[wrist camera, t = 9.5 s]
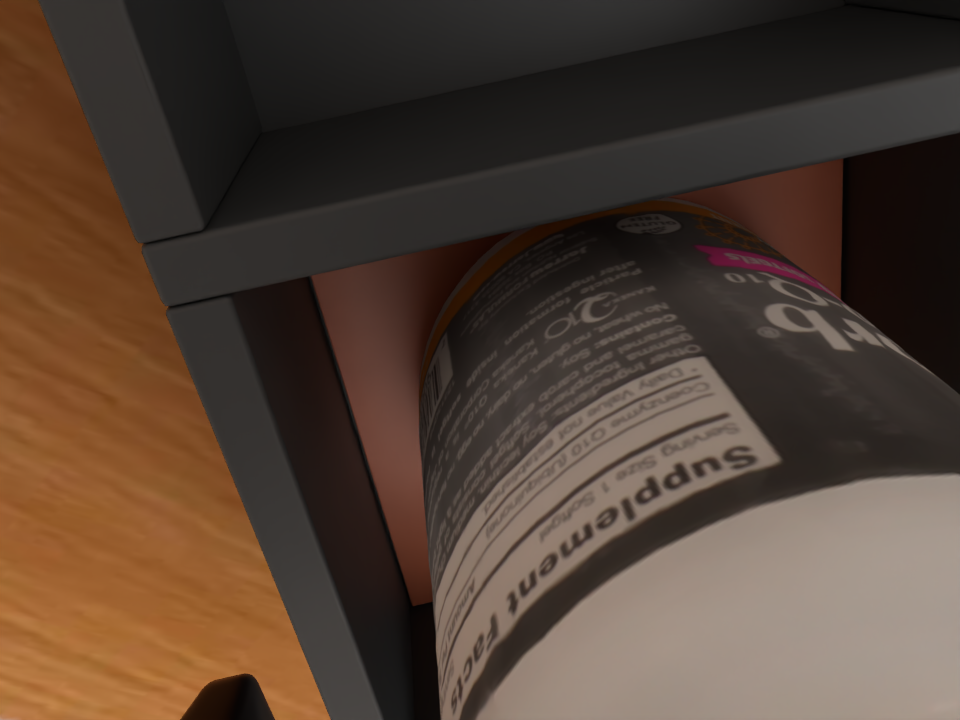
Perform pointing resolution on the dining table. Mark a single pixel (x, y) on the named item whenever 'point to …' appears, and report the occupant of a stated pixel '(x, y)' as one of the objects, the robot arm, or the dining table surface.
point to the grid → (478, 221)
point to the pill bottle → (683, 486)
